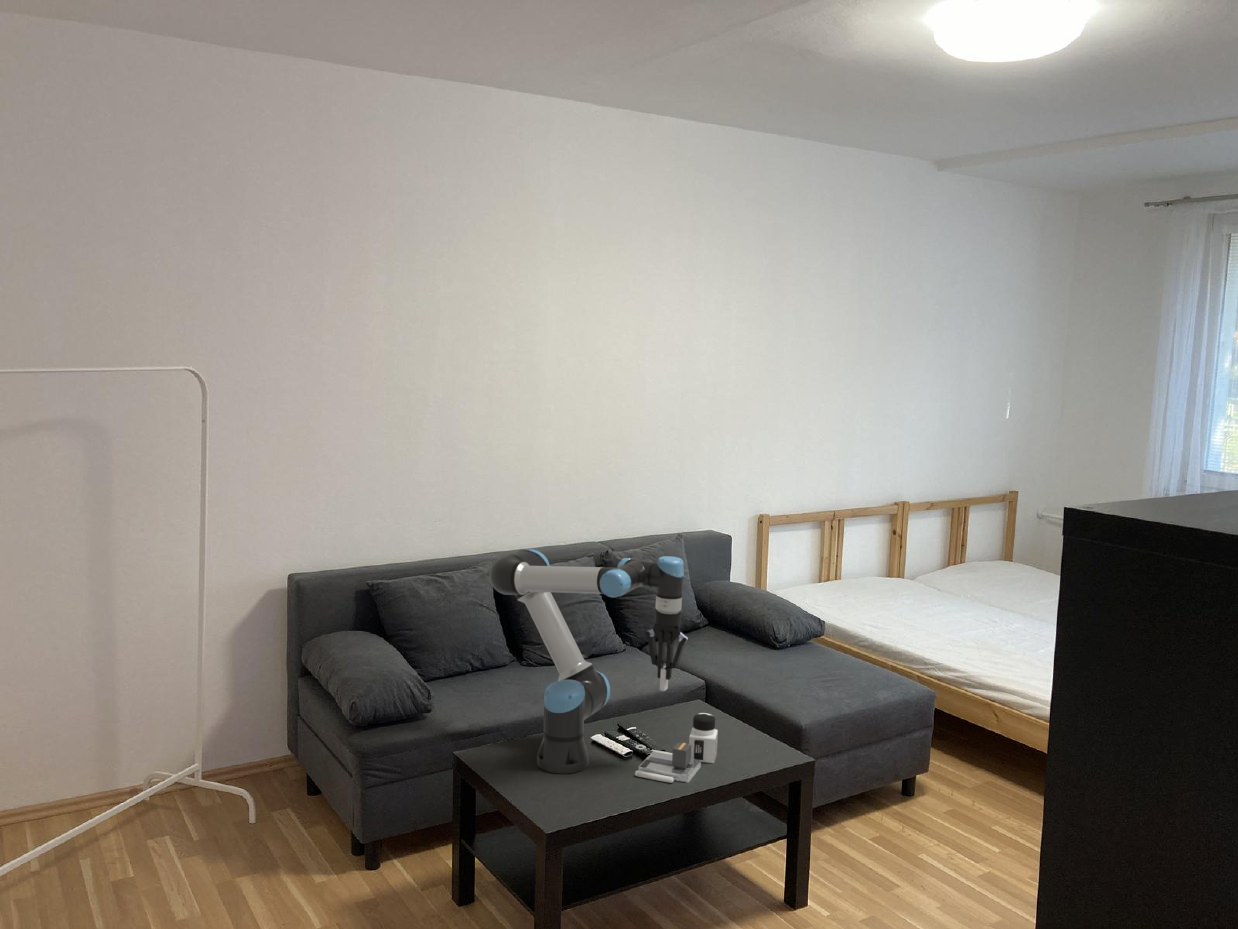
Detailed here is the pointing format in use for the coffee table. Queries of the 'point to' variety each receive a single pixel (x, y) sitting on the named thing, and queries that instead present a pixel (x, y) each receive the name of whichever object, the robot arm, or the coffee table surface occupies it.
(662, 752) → the cord far
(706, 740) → the container
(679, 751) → the toggle
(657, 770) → the panel
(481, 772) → the coffee table surface
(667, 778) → the rod
